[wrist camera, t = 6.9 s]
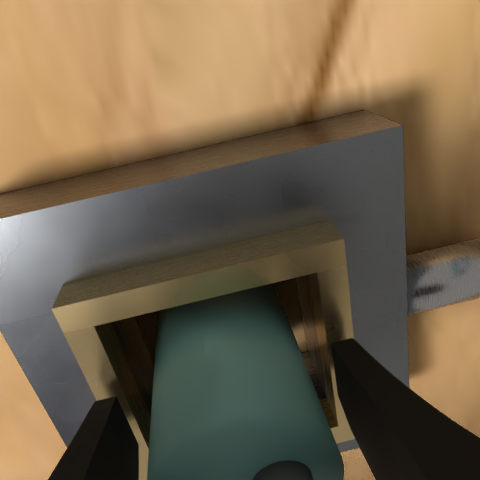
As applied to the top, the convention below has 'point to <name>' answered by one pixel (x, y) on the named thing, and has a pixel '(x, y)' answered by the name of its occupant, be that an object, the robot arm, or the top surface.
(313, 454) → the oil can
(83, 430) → the robot arm
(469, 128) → the top surface
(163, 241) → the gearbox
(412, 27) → the top surface
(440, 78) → the top surface
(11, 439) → the top surface
